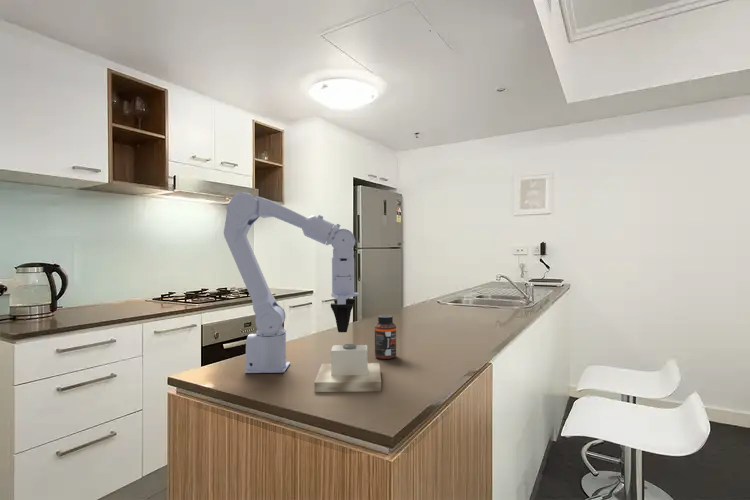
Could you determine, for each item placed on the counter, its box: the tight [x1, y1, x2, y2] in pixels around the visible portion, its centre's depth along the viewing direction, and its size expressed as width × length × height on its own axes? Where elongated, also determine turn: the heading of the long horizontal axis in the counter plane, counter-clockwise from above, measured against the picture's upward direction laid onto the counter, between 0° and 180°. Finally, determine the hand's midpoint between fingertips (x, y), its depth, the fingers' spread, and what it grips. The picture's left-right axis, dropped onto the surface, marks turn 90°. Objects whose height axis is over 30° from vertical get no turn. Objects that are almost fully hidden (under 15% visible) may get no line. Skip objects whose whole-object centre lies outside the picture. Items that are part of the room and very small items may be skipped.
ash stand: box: [313, 362, 382, 393], centre depth 93 cm, size 14×14×2 cm
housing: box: [330, 343, 369, 376], centre depth 93 cm, size 8×5×6 cm, turn 91°
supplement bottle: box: [374, 314, 397, 360], centre depth 113 cm, size 6×6×11 cm
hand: (343, 329), depth 105 cm, fingers open, 7 cm apart
